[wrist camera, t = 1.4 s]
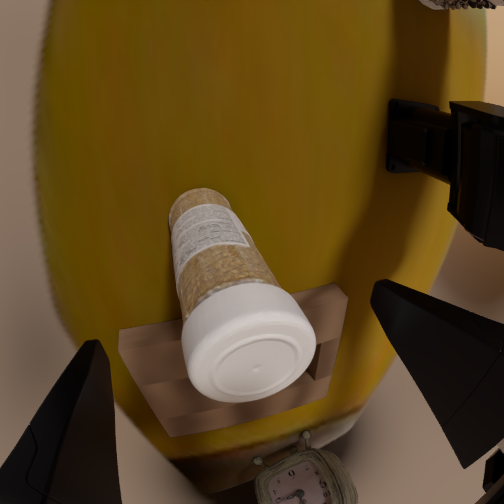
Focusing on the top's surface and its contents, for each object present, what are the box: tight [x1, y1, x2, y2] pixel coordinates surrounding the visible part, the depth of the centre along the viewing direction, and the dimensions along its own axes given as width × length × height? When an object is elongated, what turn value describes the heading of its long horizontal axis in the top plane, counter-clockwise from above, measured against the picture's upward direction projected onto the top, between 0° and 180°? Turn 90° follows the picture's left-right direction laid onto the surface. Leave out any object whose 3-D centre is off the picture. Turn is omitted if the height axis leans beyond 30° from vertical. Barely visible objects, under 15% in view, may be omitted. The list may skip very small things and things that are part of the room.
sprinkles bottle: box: [169, 188, 316, 403], centre depth 15 cm, size 5×5×14 cm
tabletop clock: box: [253, 431, 358, 504], centre depth 35 cm, size 14×9×25 cm, turn 128°
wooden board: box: [118, 283, 348, 437], centre depth 28 cm, size 20×17×2 cm
